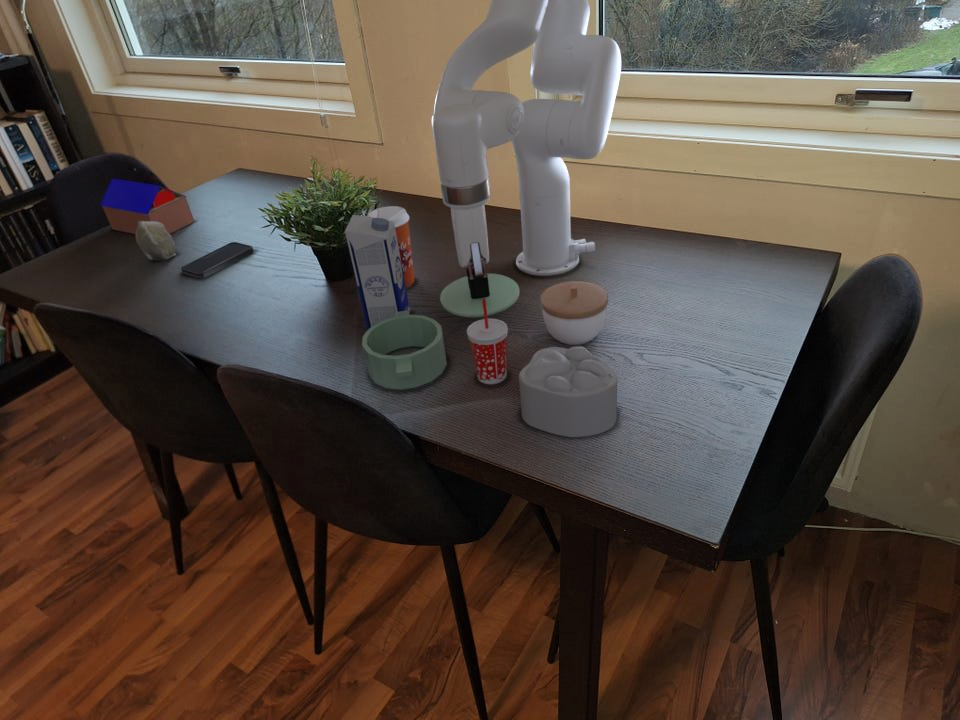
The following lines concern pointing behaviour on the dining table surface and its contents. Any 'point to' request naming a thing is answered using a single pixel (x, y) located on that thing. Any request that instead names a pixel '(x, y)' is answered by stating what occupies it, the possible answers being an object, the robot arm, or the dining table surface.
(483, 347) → the beverage cup
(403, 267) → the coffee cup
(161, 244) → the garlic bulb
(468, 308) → the lid
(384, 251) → the milk carton
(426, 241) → the dining table surface
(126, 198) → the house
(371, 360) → the pot
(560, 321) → the trinket box
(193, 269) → the phone
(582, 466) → the dining table surface
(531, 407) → the lumpy-topped squat cylinder
